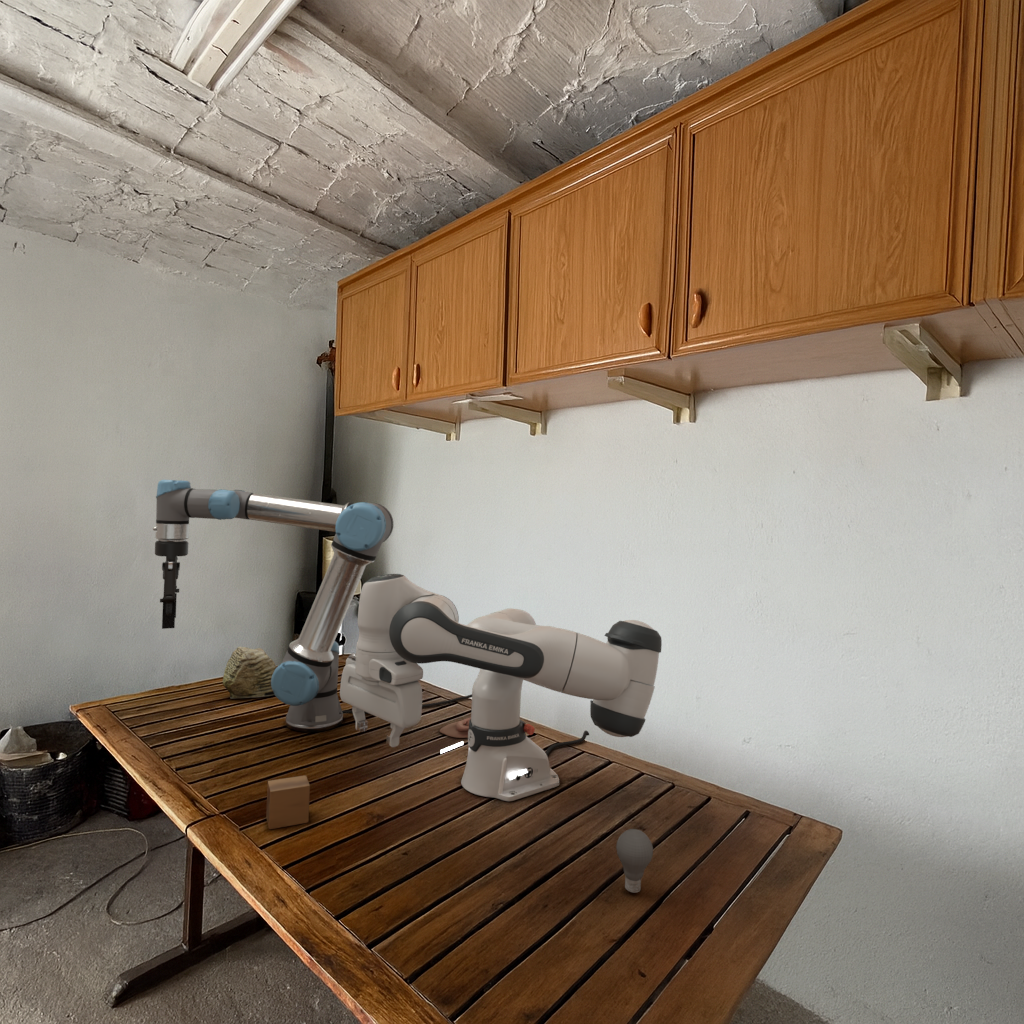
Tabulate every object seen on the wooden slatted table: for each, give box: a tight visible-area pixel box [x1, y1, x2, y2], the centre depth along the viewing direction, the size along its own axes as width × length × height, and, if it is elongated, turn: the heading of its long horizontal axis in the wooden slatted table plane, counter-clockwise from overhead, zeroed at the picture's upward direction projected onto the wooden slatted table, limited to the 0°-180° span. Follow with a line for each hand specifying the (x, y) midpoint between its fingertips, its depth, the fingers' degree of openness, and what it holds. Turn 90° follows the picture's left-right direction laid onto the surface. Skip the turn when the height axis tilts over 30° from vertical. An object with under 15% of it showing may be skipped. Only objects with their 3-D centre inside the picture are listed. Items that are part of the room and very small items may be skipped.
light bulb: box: [615, 828, 654, 894], centre depth 106 cm, size 6×6×10 cm
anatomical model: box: [439, 716, 471, 739], centre depth 175 cm, size 13×4×12 cm
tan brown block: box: [265, 775, 311, 830], centre depth 124 cm, size 5×7×7 cm
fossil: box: [222, 646, 277, 699], centre depth 198 cm, size 9×18×15 cm, turn 132°
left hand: (169, 623), depth 162 cm, fingers open, 13 cm apart
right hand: (376, 737), depth 116 cm, fingers open, 8 cm apart
